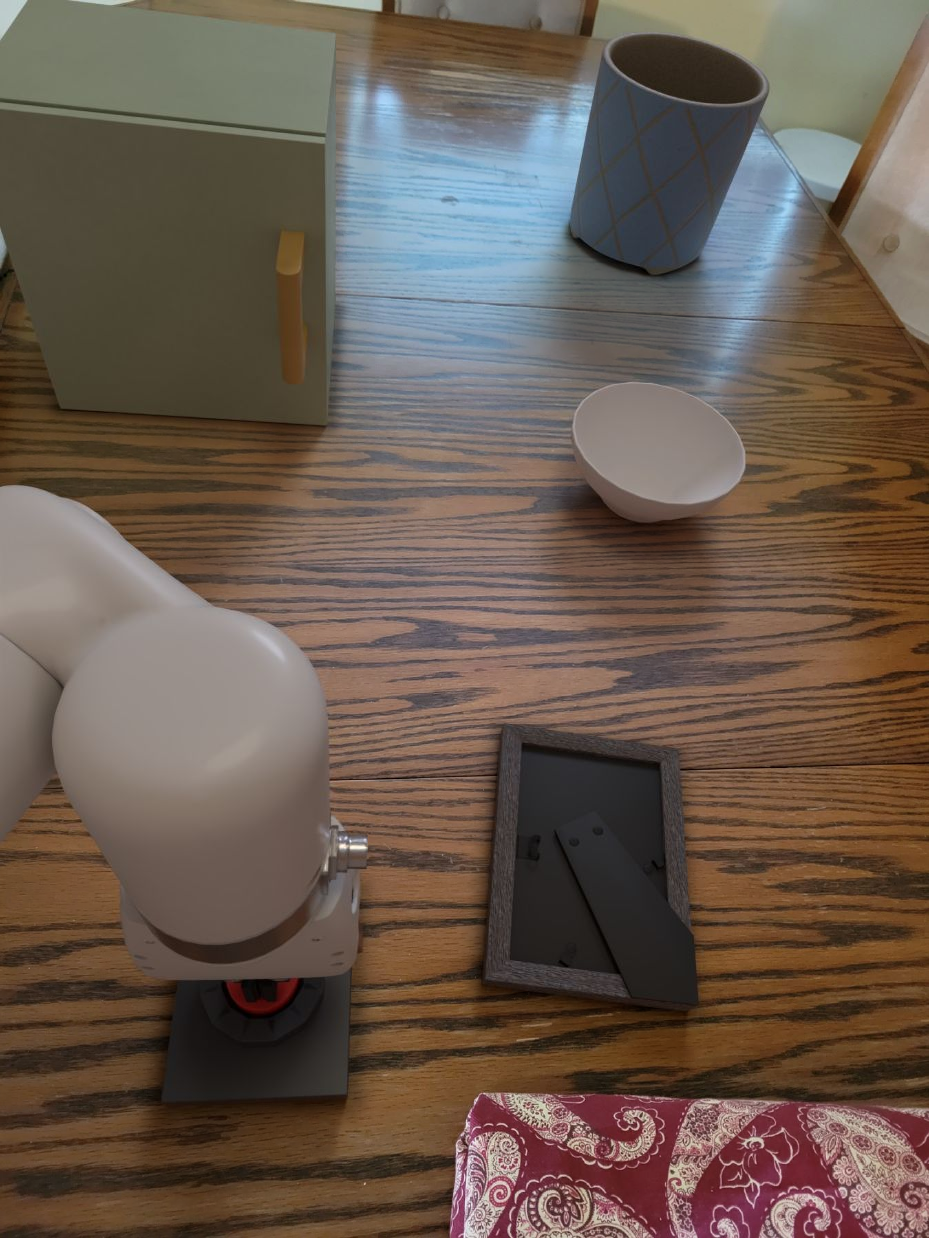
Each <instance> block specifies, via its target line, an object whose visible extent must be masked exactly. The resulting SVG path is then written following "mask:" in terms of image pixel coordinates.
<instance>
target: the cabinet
mask: <svg viewBox="0 0 929 1238" xmlns="http://www.w3.org/2000/svg"><path fill="white" fill-rule="evenodd" d="M0 102H3V103H13V104H22V105H31V106H40V107H50V108H59V109H68V110H77V111H86V112H96V113H105V114H114V115H123V116H132V117H142V118H151V119H160V120H169V121H178V122H188V123H197V124H206V125H215V126H224V127H234V128H243V129H252V130H261V131H270V132H280V133H289V134H298V135H307V136H316V137H325V138H326V256H327V398H328V409H329V406H330V391H331V378H332V365H333V352H334V351H333V350H334V338H335V337H334V336H335V335H334V334H335V322H336V321H335V320H336V289H337V288H336V279H337V278H336V276H337V275H336V273H337V272H336V269H337V267H336V265H337V264H336V259H337V258H336V256H337V255H336V248H337V247H336V243H337V241H336V239H337V238H336V233H337V231H336V230H337V229H336V228H337V225H336V224H337V221H336V219H337V218H336V216H337V215H336V214H337V170H336V169H337V33H336V32H328V31H320V30H312V29H304V28H296V27H288V26H279V25H272V24H265V23H264V24H263V23H255V22H247V21H239V20H233V19H232V20H231V19H224V18H216V17H208V16H200V15H199V16H198V15H191V14H183V13H176V12H168V11H167V12H166V11H160V10H151V9H143V8H135V7H127V6H120V5H111V4H105V3H95V2H87V1H77V0H26V1H25V3H24V5H23V6H22V7H21V9H20V10H19V12H18V14H17V15H15V18H14V19H13V21H12V22H11V24H10V25H9V27H8V28H7V30H6V31H5V32H4V34H3V35H2V37H1V39H0Z"/></svg>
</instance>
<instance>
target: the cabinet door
mask: <svg viewBox="0 0 929 1238" xmlns="http://www.w3.org/2000/svg"><path fill="white" fill-rule="evenodd" d="M0 231H1V232H0V233H1V234H2V238H3V241H4V244H5V247H6V250H7V253H8V256H9V259H10V261H11V264H12V268H13V270H14V274H15V276H16V279H17V282H18V285H19V288H20V291H21V295H22V297H23V301H24V304H25V307H26V309H27V312H28V316H29V319H30V321H31V323H32V324H31V325H32V328H33V330H34V333H35V337H36V340H37V342H38V345H39V348H40V352H41V354H42V358H43V360H44V364H45V366H46V369H47V373H48V375H49V378H50V382H51V385H52V388H53V391H54V394H55V397H56V399H57V403H58V405H59V409H62V410H75V411H77V410H79V411H94V412H107V413H125V414H140V415H155V416H156V415H157V416H171V417H184V418H185V417H187V418H200V419H201V418H203V419H217V420H231V421H232V420H234V421H248V422H249V421H250V422H262V423H264V422H266V423H279V424H296V425H310V426H328V418H329V408H328V398H327V256H326V138H325V137H316V136H307V135H298V134H289V133H280V132H270V131H261V130H252V129H243V128H234V127H224V126H215V125H206V124H197V123H188V122H178V121H169V120H160V119H151V118H142V117H132V116H123V115H114V114H105V113H96V112H86V111H77V110H68V109H59V108H50V107H40V106H31V105H22V104H13V103H3V102H0Z"/></svg>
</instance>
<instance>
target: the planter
mask: <svg viewBox="0 0 929 1238" xmlns="http://www.w3.org/2000/svg"><path fill="white" fill-rule="evenodd" d="M770 87H771V86H770V82H769V80H768V77H767V76H766V75H765V74H764V72H763V71H762V70H761V69H760V68H759V67H758V66H756V65H755V63H753V62H751V61H750V60H748V59H747V58H746V57H744V56H742V55H741V54H738V53H736V52H735V51H733V50H731V49H728V48H726V47H724V46H721V45H718V44H715V43H713V42H710V41H707V40H703V39H700V38H696V37H692V36H689V35H683V34H679V33H671V32H662V31H661V32H660V31H636V32H629V33H624V34H621V35H618V36H614V37H613V38H611V39H610V40H609V41H607V42H606V44H605V45H604V46H603V49H602V52H601V57H600V62H599V67H598V72H597V77H596V82H595V85H594V91H593V97H592V101H591V106H590V111H589V114H588V122H587V126H586V131H585V135H584V142H583V147H582V153H581V157H580V162H579V167H578V172H577V177H576V183H575V188H574V193H573V198H572V203H571V209H570V219H569V220H570V222H569V227H570V233H571V236H572V237H573V239H581V240H582V241H583V242H584V243H585V244H586V245H588V246H589V247H591V248H592V249H593V250H595V251H597V252H599V253H600V254H602V255H604V256H605V257H609V258H611V259H613V260H616V261H618V262H622V263H625V264H628V265H632V266H636V267H639V268H643V269H645V270H646V272H647V273H648V274H649V275H650V276H659V275H662V274H665V273H670V272H672V271H675V270H678V269H681V268H682V267H685V266H686V265H689V264H690V263H692V262H694V261H695V260H696V259H697V258H698V257H699V256H700V255H701V253H702V252H703V250H704V249H705V246H706V244H707V242H708V240H709V239H710V238H709V237H710V235H711V233H712V231H713V228H714V226H715V223H716V221H717V218H718V216H719V213H720V211H721V209H722V206H723V204H724V201H725V199H726V197H727V195H728V193H729V190H730V188H731V186H732V184H733V183H732V182H733V180H734V178H735V176H736V174H737V171H738V169H739V167H740V164H741V162H742V159H743V157H744V155H745V152H746V150H747V147H748V145H749V142H750V141H751V138H752V136H753V133H754V131H755V128H756V126H757V123H758V121H759V118H760V116H761V113H762V111H763V108H764V106H765V103H766V101H767V99H768V97H769V93H770Z"/></svg>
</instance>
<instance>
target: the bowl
mask: <svg viewBox="0 0 929 1238" xmlns="http://www.w3.org/2000/svg"><path fill="white" fill-rule="evenodd" d="M570 432H571V433H570V441H571V447H572V452H573V456H574V462H575V463H576V465H577V467H578V469H579V471H580V473H581V474H582V476H583V478H584V479H585V481H586V483H587V484H588V485H589V486H590V487H591V489H593V490H594V492H596V494H597V495H598V496H599V497H600V498H601V500H602V502H603V503H604V505H606V506H607V508H608V509H609V510H611V511H612V512H614V513H615V514H616V515H617V516H619V517H621V518H624V519H626V520H629V521H632V522H636V523H645V524H651V523H657V522H661V521H674V520H678V519H683V518H684V519H685V518H689V517H693V516H696V515H698V514H701V513H703V512H705V511H708V510H710V509H712V508H714V507H716V506H717V505H719V504H720V503H721V502H723V501H724V500H725V499H726V498H727V497H728V496H729V495H730V494H731V493H732V492H733V491H734V490H735V489H736V488H737V486H738V485H739V484H740V483H741V480H742V478H743V475H744V473H745V471H746V450H745V447H744V444H743V442H742V439H741V436H740V435H739V433H738V432H737V431H736V429H735V428H734V426H733V425H732V424H731V422H730V421H729V420H728V419H727V418H726V417H724V415H722V414H721V413H720V412H719V411H718V410H717V409H716V408H715V407H714V406H711V405H710V404H708V403H707V402H705V401H704V400H702V399H700V398H699V397H697V396H696V395H692V394H691V393H688V392H685V391H682V390H681V389H678V388H675V387H672V386H666V385H663V384H657V383H653V382H639V381H629V382H620V383H613V384H609V385H607V386H604V387H602V388H599V389H596V390H594V391H593V392H592V393H591V394H589V395H588V396H586V397H585V398H584V399H582V400H581V402H580V403H579V405H578V407H577V408H576V410H575V411H574V413H573V418H572V424H571V431H570Z"/></svg>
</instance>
